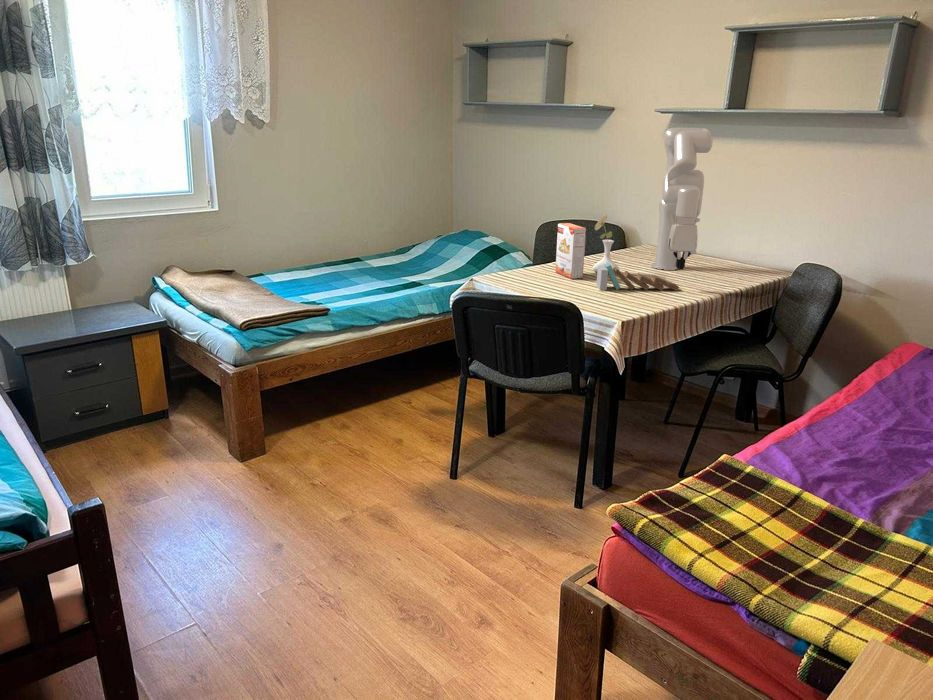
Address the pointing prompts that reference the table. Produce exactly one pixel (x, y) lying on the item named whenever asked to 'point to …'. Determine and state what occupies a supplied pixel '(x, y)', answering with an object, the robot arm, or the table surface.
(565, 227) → the cracker box
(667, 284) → the brown wooden block
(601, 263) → the flower in vase
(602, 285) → the end block
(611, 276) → the teal block
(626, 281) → the brown wooden block
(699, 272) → the table surface
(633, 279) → the tile
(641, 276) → the tile
